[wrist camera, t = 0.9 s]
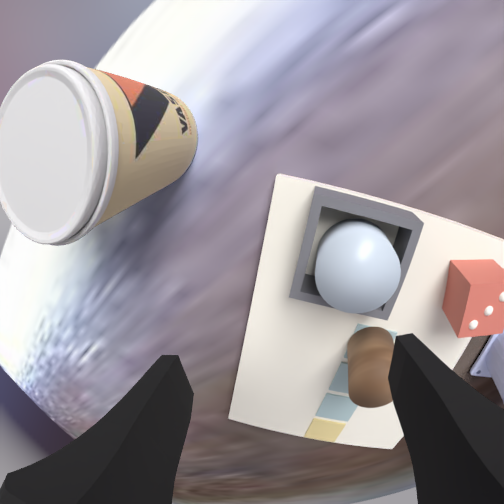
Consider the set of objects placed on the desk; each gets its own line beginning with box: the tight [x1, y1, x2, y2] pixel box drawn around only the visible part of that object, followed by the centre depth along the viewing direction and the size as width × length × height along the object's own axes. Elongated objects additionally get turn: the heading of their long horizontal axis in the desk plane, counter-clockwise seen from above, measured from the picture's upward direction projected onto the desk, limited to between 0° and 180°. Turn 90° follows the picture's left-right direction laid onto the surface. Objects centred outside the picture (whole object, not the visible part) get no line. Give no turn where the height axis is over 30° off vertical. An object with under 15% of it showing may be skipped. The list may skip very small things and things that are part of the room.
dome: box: [315, 218, 401, 314], centre depth 18 cm, size 5×5×3 cm
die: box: [442, 259, 504, 338], centre depth 17 cm, size 4×4×4 cm
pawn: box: [347, 326, 394, 408], centre depth 20 cm, size 4×4×5 cm
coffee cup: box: [0, 60, 198, 246], centre depth 17 cm, size 9×9×12 cm
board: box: [228, 174, 504, 449], centre depth 23 cm, size 19×25×4 cm
